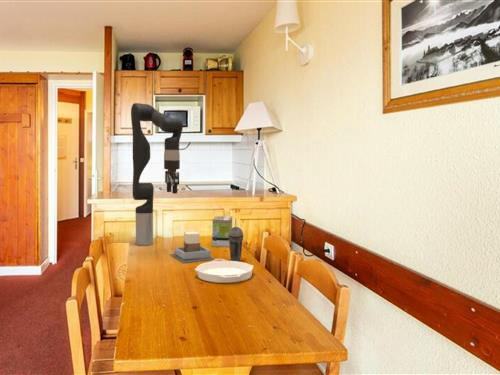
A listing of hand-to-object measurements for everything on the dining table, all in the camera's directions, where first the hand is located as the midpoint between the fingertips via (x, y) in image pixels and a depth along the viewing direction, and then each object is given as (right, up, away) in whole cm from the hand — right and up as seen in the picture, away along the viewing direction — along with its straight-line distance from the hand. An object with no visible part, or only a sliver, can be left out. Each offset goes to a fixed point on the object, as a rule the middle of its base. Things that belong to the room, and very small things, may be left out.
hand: (171, 192), depth 216 cm
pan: (+28, -34, -35) cm, 56 cm away
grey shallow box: (+11, -31, -5) cm, 33 cm away
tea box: (+23, -29, +26) cm, 45 cm away
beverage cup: (+31, -32, -10) cm, 46 cm away
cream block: (+10, -24, -5) cm, 26 cm away
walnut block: (+11, -30, -5) cm, 32 cm away
